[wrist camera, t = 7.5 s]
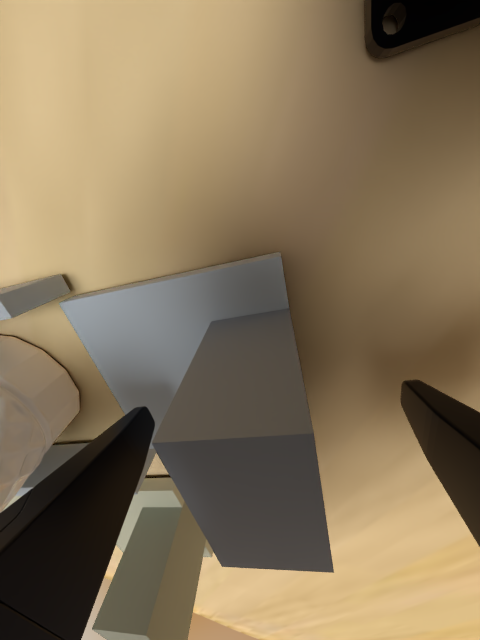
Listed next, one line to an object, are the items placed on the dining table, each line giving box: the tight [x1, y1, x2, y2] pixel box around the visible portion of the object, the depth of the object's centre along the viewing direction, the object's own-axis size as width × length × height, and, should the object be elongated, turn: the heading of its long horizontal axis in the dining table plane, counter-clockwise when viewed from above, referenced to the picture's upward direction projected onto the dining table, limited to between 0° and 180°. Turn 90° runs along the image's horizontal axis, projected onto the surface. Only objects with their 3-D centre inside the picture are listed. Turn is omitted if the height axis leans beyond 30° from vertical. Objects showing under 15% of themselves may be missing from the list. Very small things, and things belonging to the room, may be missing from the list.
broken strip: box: [4, 478, 213, 640], centre depth 17 cm, size 21×9×6 cm, turn 103°
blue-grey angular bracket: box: [0, 252, 334, 573], centre depth 10 cm, size 20×11×6 cm, turn 103°
